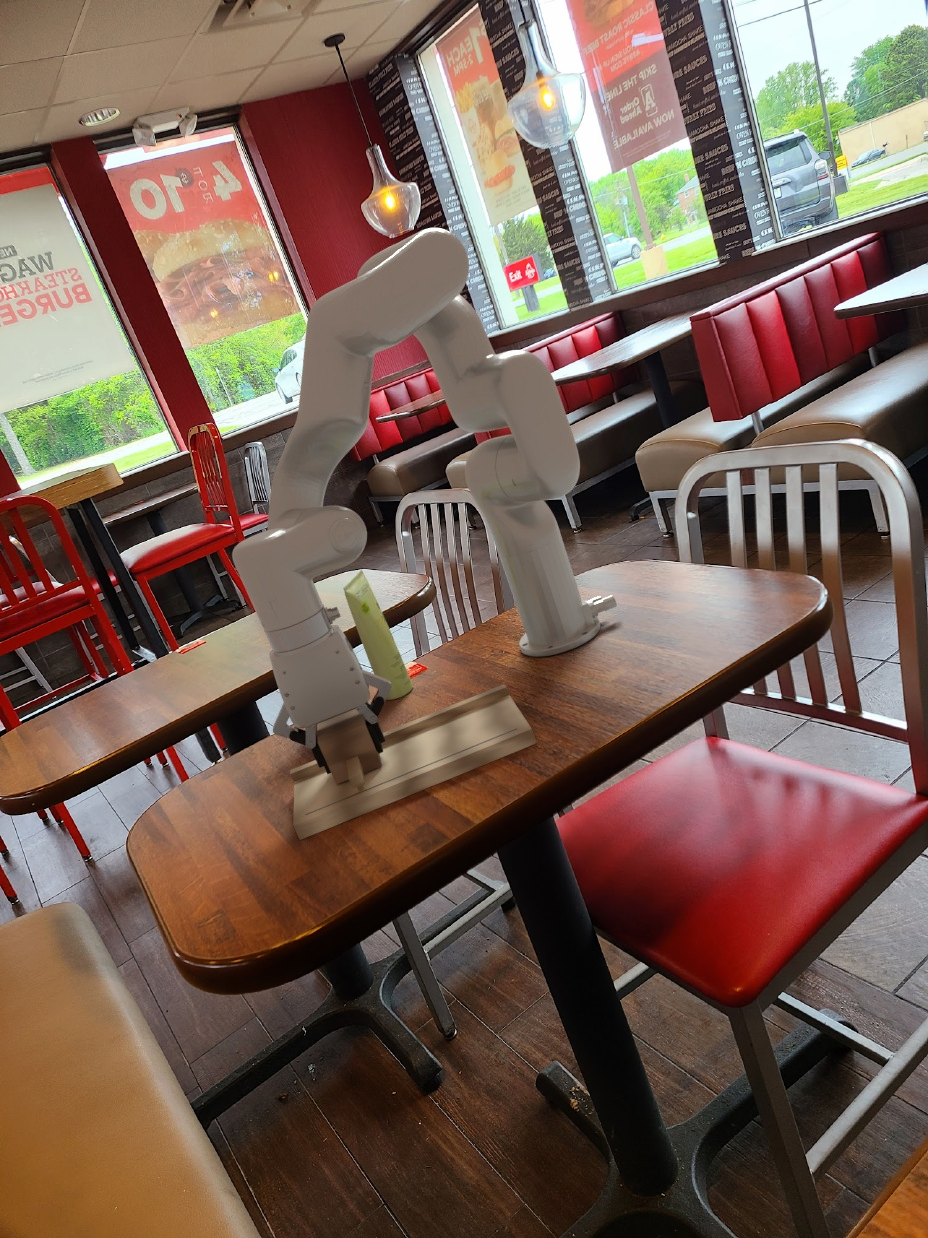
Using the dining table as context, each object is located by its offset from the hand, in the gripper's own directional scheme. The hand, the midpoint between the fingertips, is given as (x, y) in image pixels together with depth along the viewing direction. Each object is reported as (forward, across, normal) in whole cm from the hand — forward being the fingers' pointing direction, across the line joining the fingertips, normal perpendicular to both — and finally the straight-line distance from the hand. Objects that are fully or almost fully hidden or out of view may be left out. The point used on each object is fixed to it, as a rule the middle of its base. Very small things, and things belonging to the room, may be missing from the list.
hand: (354, 757), depth 110 cm
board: (+3, -6, +2) cm, 8 cm away
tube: (+4, -7, -24) cm, 26 cm away
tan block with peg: (+1, 0, +2) cm, 3 cm away
